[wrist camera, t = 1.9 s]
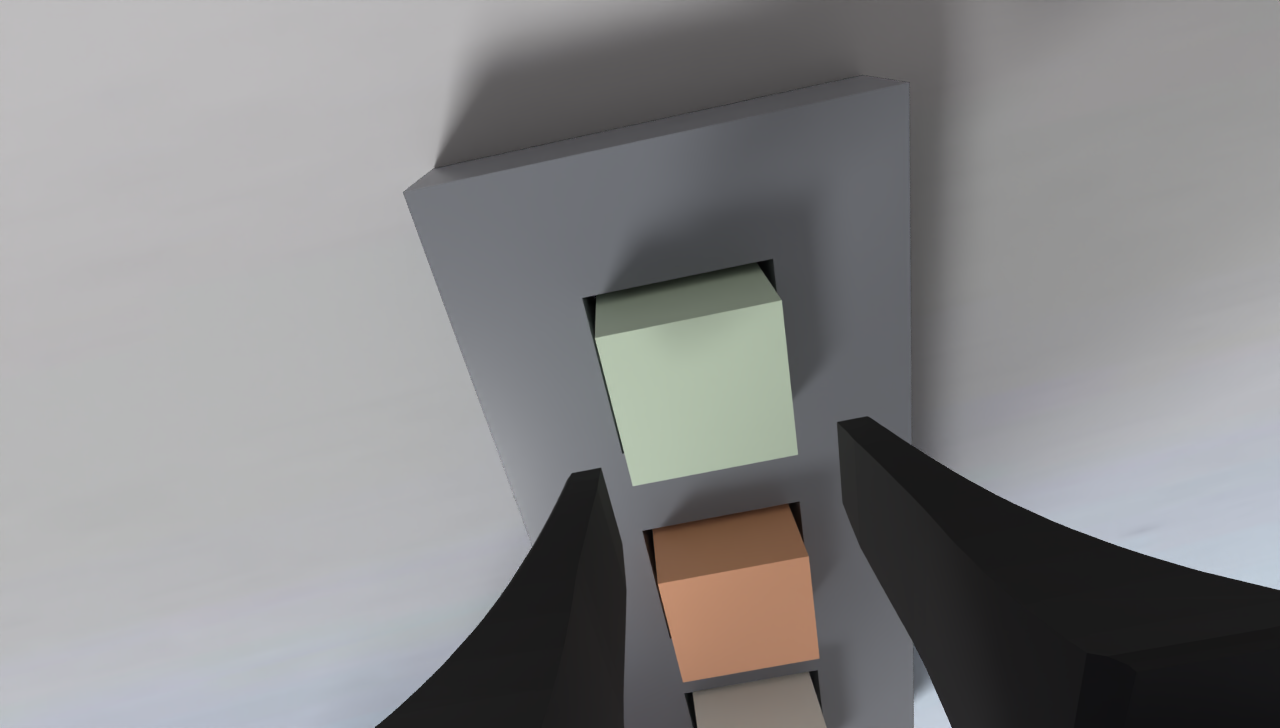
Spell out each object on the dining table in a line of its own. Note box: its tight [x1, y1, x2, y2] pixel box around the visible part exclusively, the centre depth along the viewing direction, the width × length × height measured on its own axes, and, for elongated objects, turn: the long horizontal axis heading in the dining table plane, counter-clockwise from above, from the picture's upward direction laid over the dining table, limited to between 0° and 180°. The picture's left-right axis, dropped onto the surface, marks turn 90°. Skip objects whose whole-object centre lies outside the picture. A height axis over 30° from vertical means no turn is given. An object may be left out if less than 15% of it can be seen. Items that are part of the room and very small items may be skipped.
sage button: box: [595, 262, 798, 486], centre depth 17 cm, size 4×4×3 cm
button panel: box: [403, 75, 914, 728], centre depth 23 cm, size 28×12×3 cm, turn 11°
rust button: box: [653, 504, 819, 682], centre depth 21 cm, size 4×4×3 cm
